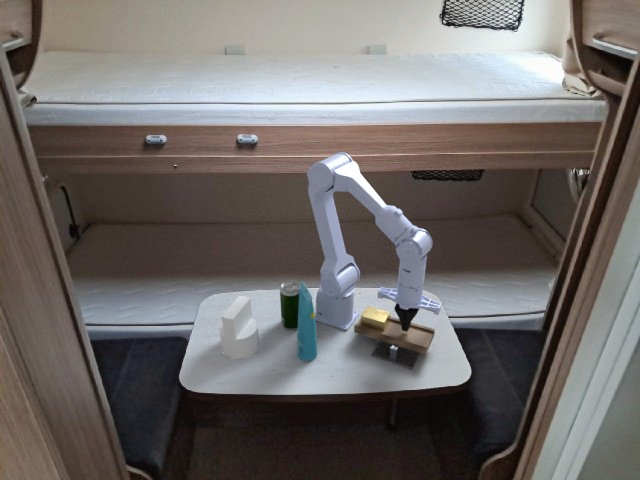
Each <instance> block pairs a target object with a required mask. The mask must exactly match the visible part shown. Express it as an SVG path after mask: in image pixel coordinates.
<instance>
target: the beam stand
mask: <svg viewBox="0 0 640 480" xmlns="http://www.w3.org/2000/svg"><path fill="white" fill-rule="evenodd" d="M411 323H413V320H412V321H411ZM420 355H421V353H419V352H416V351H413V350H409V349H406V348H403V347H400V346H396V345H393V344H390V343H387V342H384V341H380V340H379V342H378V344H377V345H376V346H375V348H374V350H373V351H372V354H371V357H374V358H377V359H380V360H383V361H386V362H389V363H391V364H394V365H398V366H400V367H402V368H405V369H409V370H412V371H413V369H414V367H415V365H416V363H417V360H418V358H419V356H420Z"/></svg>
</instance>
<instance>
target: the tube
mask: <svg viewBox="0 0 640 480" xmlns="http://www.w3.org/2000/svg"><path fill="white" fill-rule="evenodd" d="M299 284H300V293H299V308H298V329H297V334H296V335H297V338H296V345H297V346H296V356H297V358H298V359H299V360H301V361H303V362H311V361H313V360H315V359H316V358H317V357H318V343H317V342H318V341H317V329H316V327H317V326H316V325H317V324H316V320H315V317H316V313H315V308H314V303H313V295H312V293H311V292H310V290H309V289H308V287H307V285H306V284H305V283H304V282H303V281H302V279H300V283H299Z"/></svg>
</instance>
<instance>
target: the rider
mask: <svg viewBox="0 0 640 480" xmlns="http://www.w3.org/2000/svg"><path fill="white" fill-rule="evenodd" d="M390 317H391V311H386V310H383V309H380V308H376V307H373V306H369V305H367V307H366V308H365V309H364V310H363V312H362V313H361V315H360V318H361V326H365V327H368V328H371V329H375V330H378V331H381V332H384V331H385V329H386V328H387V326H388V324H389V323H390Z"/></svg>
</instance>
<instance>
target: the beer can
mask: <svg viewBox="0 0 640 480" xmlns="http://www.w3.org/2000/svg"><path fill="white" fill-rule="evenodd" d="M300 284H301V283H300V282H297V281H296V280H295V281H294V280H287V281H284V282H282V283H281V284H280V289H279V297H280V301H279V302H280V318H281V319H280V320H281V325H282V327H283V328H284V329H285V330H286V331H287V330H289V331H295V330H298V308H299V293H300Z"/></svg>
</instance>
